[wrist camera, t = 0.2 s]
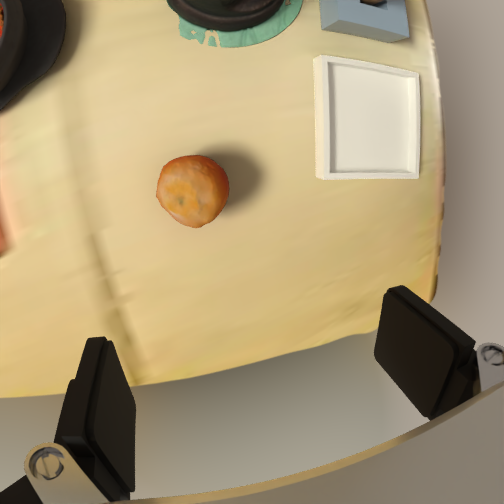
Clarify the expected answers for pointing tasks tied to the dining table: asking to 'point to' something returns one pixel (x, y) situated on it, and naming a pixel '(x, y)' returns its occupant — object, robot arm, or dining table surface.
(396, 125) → the tray
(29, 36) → the casserole
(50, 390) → the dining table surface
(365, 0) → the pin
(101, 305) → the dining table surface
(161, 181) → the fruit
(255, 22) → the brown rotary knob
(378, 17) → the holder
